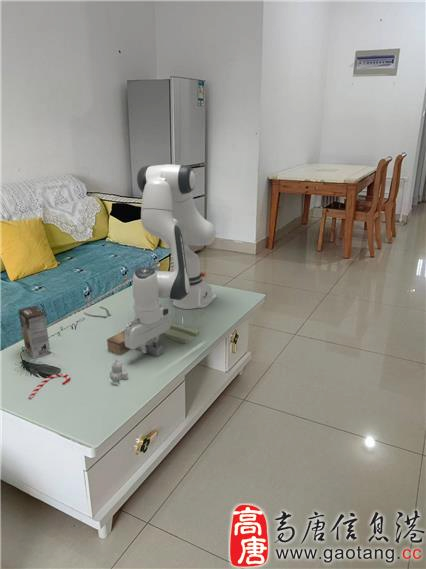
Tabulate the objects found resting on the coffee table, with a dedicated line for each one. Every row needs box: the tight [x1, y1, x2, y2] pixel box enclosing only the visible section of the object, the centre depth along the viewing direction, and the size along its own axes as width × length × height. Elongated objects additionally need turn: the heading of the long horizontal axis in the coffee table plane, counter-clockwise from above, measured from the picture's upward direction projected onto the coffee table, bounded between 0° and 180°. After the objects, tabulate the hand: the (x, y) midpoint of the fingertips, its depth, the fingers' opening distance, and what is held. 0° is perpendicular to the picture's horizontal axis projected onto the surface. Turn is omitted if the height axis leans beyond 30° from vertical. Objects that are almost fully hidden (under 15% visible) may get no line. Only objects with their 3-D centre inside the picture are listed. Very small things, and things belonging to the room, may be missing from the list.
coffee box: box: [18, 305, 51, 359], centre depth 156 cm, size 9×6×16 cm
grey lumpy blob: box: [109, 358, 129, 383], centre depth 139 cm, size 5×7×8 cm
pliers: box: [83, 306, 112, 319], centre depth 190 cm, size 10×1×20 cm
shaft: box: [134, 340, 164, 358], centre depth 157 cm, size 3×16×3 cm, turn 55°
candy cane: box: [28, 373, 71, 400], centre depth 137 cm, size 8×1×15 cm
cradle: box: [159, 322, 200, 344], centre depth 169 cm, size 8×16×3 cm, turn 56°
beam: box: [106, 329, 131, 356], centre depth 160 cm, size 16×6×6 cm, turn 146°
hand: (149, 349), depth 155 cm, fingers closed on shaft, 3 cm apart
